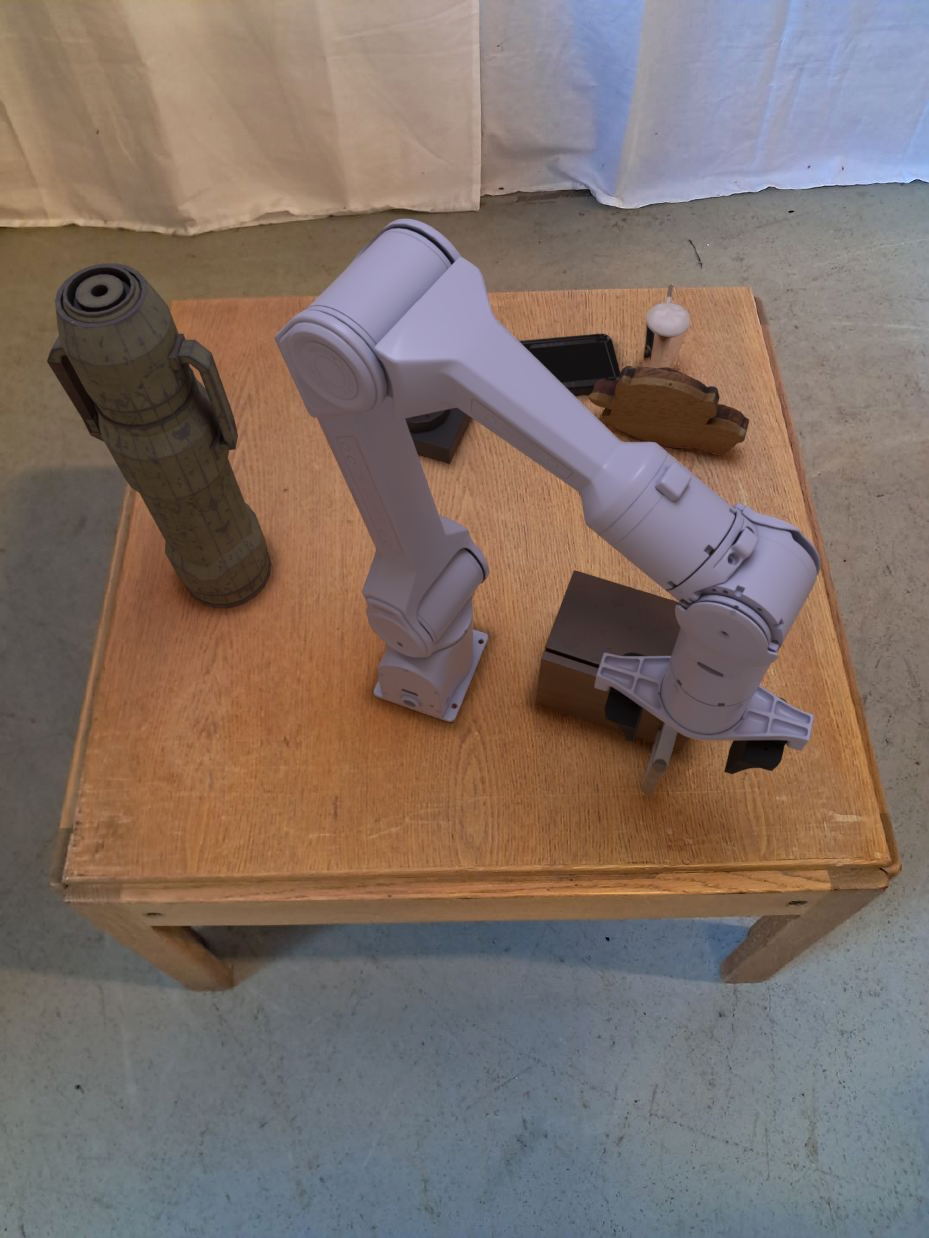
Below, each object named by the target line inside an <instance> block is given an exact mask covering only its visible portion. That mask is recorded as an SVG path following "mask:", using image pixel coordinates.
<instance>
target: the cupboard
mask: <svg viewBox="0 0 929 1238" xmlns="http://www.w3.org/2000/svg"><path fill="white" fill-rule="evenodd" d="M676 605H680V606H681V602H679V601H678V600H677V601H676V600H674V599H671V598H667V597H663V596H660V595H657V594H654V593H651V592H647V591H644V590H642V589H641V590H640V589H638V588H634V587H632V586H628V585H624V584H622V583H618V582H615V581H612V580H608V579H605V578H602V577H598V576H595V575H593V574H589V573H586V572H582V571H580V570H575V569H573V571H572V574H571V576H570V579H569V582H568V585H567V587H566V590H565V593H564V595H563V598H562V601H561V603H560V606H559V608H558V612H557V613H556V616H555V619H554V622H553V623H552V624H553V625H552V627H551V630H550V633H549V636H548V637H547V641H546V643H545V646H544V651H547V652H550V653H553V654H556V655H559V656H562V657H565V658H568V659H571V660H574V661H577V662H580V663H583V664H586V665H589V666H593V667H596V668H599V666H600V663H601V660H602V657H603V654H604V653H609V654H613V655H618V656H623V655H624V654H626V653H631V652H634V653H638V654H641V655H645V656H671V655H672V652H673V649H674V646H675V643H676V640H677V637H678V634H679V631H680V629H681V627H680V625H679V623H678V621H677V619H676V615H675V606H676Z"/></svg>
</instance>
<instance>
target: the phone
mask: <svg viewBox="0 0 929 1238" xmlns="http://www.w3.org/2000/svg"><path fill="white" fill-rule="evenodd" d="M518 341H519V342H520V343H521V344H522V345H523V346H524V347H525V348H526V349H527V350H528V351H529V352H530V353H531V354H532V355H533V356H534V357H535V358H537V359H538V360H539V361H540V362H541V363H542V364H543V365H544V366H545V367H546V368H547V369H548V370H549V371H550V372H551V373H552V374H553V375H554V376H555V377H556V378H557V379H558V380H559V381H560V382H561V383H562V384H563V385H564V386H565V387H566V388H567V389H568V390H569V391H570V392H571V393H572V394H573V395H574V396H583V395H590V394H591V393H592V391H593V388H594V385H595V383H596V382H597V381H599V380H602V379H604V380H611V381H616V382H618V379H619V375H620V372H621V370H620V366H619V363H618V358H617V353H616V351H615V346H614V343H613V339H612V338H611V336H610V335H608V334H607V333H590V334H580V335H568V336H558V337H547V338H545V337H544V338H536V339H524V340H522V339H521V340H518Z"/></svg>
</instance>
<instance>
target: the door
mask: <svg viewBox="0 0 929 1238" xmlns="http://www.w3.org/2000/svg"><path fill="white" fill-rule="evenodd" d="M598 669H599V668H596V667H593V666H589V665H586V664H583V663H580V662H577V661H574V660H571V659H568V658H565V657H562V656H559V655H556V654H553V653H550V652H547V651H545V650H543V652H542V655H541V657H540V661H539V670H538V677H537V684H536V692H535V699H534V704H535V705H539V706H541V707H544V708H547V709H550V710H553V711H556V712H559V713H561V714H565V715H567V716H571V717H574V718H577V719H580V720H582V721H586V722H588V723H592V724H595V725H597V726H600V727H602V728H603V727H604V728H606V729H609V730H612V731H615V732H619V733H621V734H623V732H622V730H621V729H620V727H619V726H618V725H617V724H616V723H614V722H612V721H610V720H607V719H606V717H605V704H606V701H607V698H608V694H609V691H610V690H609V691H603V690H600V689H597V688H595V687H594V686H595V680H596V675H597V672H598ZM635 739H639V740H642V741H645V742H648V743H651V744H652V747H651V751H650V755H649V757H648V758H649V759H648V761H647V765H646V768H645V771H644V775H643V778H642V781H641V785H640V791H641V793H642V794H643V795H645V796H652V795H654V794H655V792H656V790H657V789H658V786H659V785H660V783H661V781H662V779H663V777H664V775H665V773H666V772H667V770H668V768H669V764H670V761H671V757H672V753H673V751H675V752H677V753H682V751H683V749H684V748H685V746H686V744H687V743H688V740H689V739H690V738H689V737H686V736H684V735H682V734H680V733H679V732H677V731H676V730H674V729H673V728H671V727H670V726H668V725H667V724H666V723H664V722H663V721H661V720H660V719H658V718H657V717H656V716H654V715H653V714H651V713H650V712H648V711H647V710H646V709H644V708H643V713H642V716H641V720H640V723H639V726H638V730H637V733H636V736H635Z"/></svg>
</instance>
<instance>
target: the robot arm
mask: <svg viewBox="0 0 929 1238" xmlns="http://www.w3.org/2000/svg"><path fill="white" fill-rule="evenodd" d="M487 289H488V288H487V285H486V282H485V278H484V277H483V274H482V272H481V270H480V269H479V268H478V266H476V265H475V264H473V263H471V262H470V261H468V260H467V259H466V258H464V257H463V256H461V254H460V253H459V251H458V250H457V248H456V246H455V245H453V243H451V241H450V240H449V239H448V238H447V237H446V236H444V235H443V234H442V233H441V232H440V231H438V230H437V229H435V228H434V227H432V226H431V225H429V224H427V223H425V222H422V221H420V220H416V219H412V218H398V219H396V220H393V221H391V222H389V223H388V224H387V225H385V226H384V227H383V228H382V229H381V230H380V231H379V232H378V233H377V234H376V235H375V236H374V237H373V238H372V239H371V240H370V241H369V242H368V243H367V244H366V245H365V246H364V247H363V248H362V249H361V250H360V251H359V252H358V254H356V256H355V257H354V258H353V260H352V261H351V263H350V264H349V265H347V267H346V268H345V269H344V271H342V273H341V274H340V275H339V276H337V278H335V279H334V280H333V281H332V283H331V284H329V286H327V287H326V289H324V290H323V291H322V292H321V293H320V295H318V296H317V297H316V298H315V299H314V300H313V301H312V302H311V303H310V304H309V305H308V306H307V307H306V308H305V309H303V310H302V311H300V312H298V313H296V314H295V315H294V316H293V317H291V319H289V321H288V322H287V323H286V324H285V325H284V326H283V327H282V328H280V329H279V331H278V332H277V333H276V334H275V335H274V337H273V338H274V341H275V344H276V345H277V347H278V350H279V352H280V354H281V356H282V358H283V361H284V363H285V365H286V367H287V369H288V372H289V374H290V376H291V378H292V380H293V382H294V384H295V387H296V389H297V391H298V394H299V396H300V398H301V400H302V403H303V404H304V407H305V408H306V411H307V413H308V415H309V416H310V417H312V418H315V419H317V421H318V424H319V426H320V428H321V430H322V432H323V433H322V434H323V435H324V438H325V439H326V441H327V443H328V445H329V448H330V451H331V452H332V455H333V457H334V459H335V462H336V463H337V466H338V468H339V470H340V472H341V474H342V477H343V479H344V481H345V483H346V485H347V488H348V490H349V492H350V495H351V497H352V499H353V501H354V504H355V505H356V507H357V510H358V512H359V514H360V516H361V519H362V521H363V523H364V525H365V527H366V530H367V532H368V534H369V537H370V538H371V541H372V543H373V545H374V548H375V553H374V556H373V559H372V562H371V564H370V566H369V570H368V573H367V576H366V579H365V582H364V585H363V588H362V592H361V593H362V594H361V595H362V596H363V598H364V600H365V602H366V609H365V613H366V617H367V621H368V624H369V626H370V628H371V630H372V631H373V632H374V633H375V634H376V635H377V637H378V638H379V639H380V640H381V641H383V642H384V643H385V644H386V647H385V649H384V652H383V654H382V656H381V659H380V660H379V663H378V665H377V669H376V673H377V677H378V679H377V682H376V684H375V686H374V688H373V695H374V696H375V697H376V698H378V699H381V700H384V701H387V702H390V703H393V704H394V705H395V704H396V705H399V706H401V707H404V708H407V709H410V710H413V711H416V712H418V713H422V714H425V715H427V716H430V717H432V718H436V719H438V720H441V721H444V722H447V723H453V722H455V721H456V719H457V717H458V715H459V712H460V709H461V707H462V705H463V702H464V700H465V697H466V694H467V692H468V690H469V687H470V685H471V683H472V680H473V678H474V675H475V673H476V671H477V668H478V665H479V663H480V661H481V658H482V656H483V653H484V651H485V648H486V646H487V643H488V641H489V635H488V634H487V633H486V632H483V631H480V630H476V629H474V610H473V609H474V607H473V600H474V597H475V596H476V590H477V589H478V588H479V586H480V585H481V584H483V583H484V582H485V581H486V580H487V579H488V577H489V575H490V567H489V563H488V561H487V559H486V556H485V555H484V553H483V551H482V550H481V548H480V547H479V546H478V545H477V544H475V541H474V540H473V538H472V535H471V533H470V530H469V528H467V527H466V526H464V525H463V524H461V523H460V522H457V521H455V520H453V519H451V518H449V517H447V516H444V515H440V513H439V511H438V508H437V506H436V502H435V500H434V497H433V494H432V492H431V489H430V484H429V482H428V480H427V476H426V474H425V472H424V469H423V468H424V467H423V466H422V463H421V460H420V457H419V454H417V451H416V448H415V446H414V443H413V440H412V437H411V434H410V431H409V428H408V426H407V423H406V420H405V418H410V417H414V416H419V415H424V414H428V413H433V412H438V411H442V410H447V409H452V408H458V409H460V410H461V411H463V412H464V413H466V414H467V415H469V416H470V417H471V419H473V420H474V421H476V422H477V423H479V424H480V425H482V426H483V427H484V428H486V429H487V430H489V431H490V432H492V433H493V434H494V435H495V436H497V437H499V438H500V439H502V440H503V441H504V442H506V443H507V444H509V445H510V446H512V447H513V448H514V449H516V450H517V451H518V452H520V453H521V454H523V455H524V456H526V457H527V458H529V459H530V460H531V461H533V462H535V464H538V465H539V466H540V467H542V468H543V469H545V470H546V471H548V472H549V473H550V474H551V475H553V476H554V477H556V478H558V479H559V480H560V481H562V482H564V483H565V484H566V485H568V486H569V487H571V488H572V489H573V490H575V491H576V492H578V494H579V497H580V499H581V506H582V512H583V520H584V523H585V525H586V526H587V527H588V528H589V529H590V530H592V532H593V533H595V534H596V535H598V537H600V538H601V539H602V540H604V541H605V542H606V543H607V544H608V545H610V547H612V548H613V549H614V550H615V551H617V552H618V553H619V554H620V555H622V556H623V557H624V558H625V559H626V560H628V561H629V562H630V563H631V564H632V565H634V566H635V567H636V568H638V569H639V570H640V571H641V572H642V573H644V574H645V575H646V576H648V578H649V579H651V580H652V581H653V582H654V583H656V584H657V585H658V586H660V587H661V588H662V589H663V590H664V591H666V592H667V593H668V594H669V595H670V596H672V597H673V598H674V599H675V600H677V602H680V603H681V606H680V605H676V606H675V615H676V619H677V621H678V623H679V625H680V627H681V629H680V631H679V634H678V637H677V640H676V643H675V646H674V649H673V652H672V655H671V656H645V655H641V654H638V653H634V652H631V653H626V654H624V655H623V656H618V655H613V654H609V653H604V654H603V657H602V660H601V663H600V666H599V669H598V672H597V675H596V680H595V686H594V687H595V688H597V689H600V690H603V691H609V690H610V691H609V694H608V698H607V701H606V704H605V717H606V719H607V720H610V721H612V722H614V723H616V724H617V725H618V726H619V727H620V729H621V730H622V732H623V733H622V734H623V737H624V740H625V742H628V743H631V744H634V742H635V739H636V737H635V736H636V733H637V730H638V726H639V723H640V720H641V716H642V713H643V708H644V709H646V710H647V711H648V712H650V713H651V714H653V715H654V716H656V717H657V718H658V719H660V720H661V721H663V722H664V723H666V724H667V725H668V726H670V727H671V728H673V729H674V730H676V731H677V732H679V733H680V734H682V735H684V736H686V737H689V739H692V740H695V741H700V742H701V741H702V742H703V741H704V742H718V741H720V742H721V741H722V742H723V741H726V742H727V741H728V742H729V741H731V745H730V746H729V750H728V754H727V758H726V763H725V767H724V770H723V773H726V774H730V775H734V774H737V773H739V772H740V773H741V772H743V771H746V770H751V769H762V770H766V771H769V772H773V771H774V770H776V769H777V767H778V766H779V765H780V764H781V762H782V760H783V755H784V750H785V746H787V748H789V749H792V750H796V751H799V752H802V751H803V750H804V748H805V747H806V746H807V744H808V743H809V742H810V740H811V736H812V730H813V725H814V719H815V714H813V713H810V712H807V711H805V710H802V709H800V708H797V707H795V706H793V705H792V704H790V703H789V702H788V701H787V700H786V699H784V698H783V697H780V696H777V695H776V694H775V693H773V692H771V691H769V690H768V689H767V688H766V687H764V686H763V685H761V683H762V681H763V679H764V678H765V676H766V674H767V672H768V670H769V669H770V667H771V665H772V664H773V663H775V662H776V661H777V660H778V658H780V655H779V654H778V651H779V650H780V648H781V647H782V645H783V644H784V642H785V640H786V638H787V636H788V634H789V633H790V631H791V629H792V627H793V625H794V623H795V622H796V621H797V620H796V619H797V618H798V616H799V614H800V612H801V610H802V609H803V608H804V607H803V606H804V605H805V603H806V602H807V599H808V597H809V596H810V594H811V592H812V590H813V588H814V586H815V585H816V582H817V578H818V575H819V574H820V571H821V567H822V561H821V557H820V554H819V552H818V550H817V548H816V546H814V544H813V543H812V542H811V540H810V539H808V537H807V536H805V535H804V534H803V532H802V530H801V529H800V528H799V527H797V526H795V525H794V524H792V523H789V522H788V521H786V520H784V519H781V518H779V517H776V516H773V515H768V514H763V513H760V512H757V511H755V510H754V509H752V507H750V506H749V505H744V504H742V503H740V502H737V503H736V504H734V505H731V504H730V503H729V502H728V501H726V500H725V499H724V498H723V497H722V496H720V495H719V493H717V492H715V490H713V489H712V488H711V487H710V486H709V485H707V484H706V483H705V482H704V481H703V480H702V479H700V478H699V477H698V476H697V475H695V474H694V473H693V471H692V472H691V470H690V469H688V468H687V467H686V466H685V465H683V463H681V462H680V461H678V459H676V458H675V457H674V456H673V455H672V454H670V453H669V452H668V451H667V450H666V449H665V448H663V446H661V445H658V444H657V443H655V442H646V441H622V440H620V439H619V438H618V437H617V436H616V435H615V434H614V433H613V432H612V431H611V430H610V429H609V428H608V427H607V426H606V425H605V424H604V423H603V422H602V421H601V420H600V419H599V418H598V417H597V416H596V415H595V414H594V413H593V412H591V410H589V408H588V407H587V406H585V404H583V402H581V400H579V399H578V397H576V395H573V394H572V393H571V392H570V391H569V390H568V389H567V388H566V387H565V386H564V385H563V384H562V383H561V382H560V381H559V380H558V379H557V378H556V377H555V376H554V375H553V374H552V373H551V372H550V371H549V370H548V369H547V368H546V367H545V366H544V365H543V364H542V363H541V362H540V361H539V360H538V359H537V358H535V357H534V356H533V355H532V354H531V353H530V352H529V351H528V350H527V349H526V348H525V347H524V346H523V345H522V344H521V343H520V342H519V341H520V340H519V339H518V338H516V337H515V335H513V333H511V331H510V330H508V329H507V328H506V327H505V326H504V325H503V323H501V322H500V320H498V318H497V317H496V316H495V314H494V311H493V310H492V306H491V301H490V297H489V294H488V290H487ZM479 642H482V643H479ZM453 706H456V708H453Z"/></svg>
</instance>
